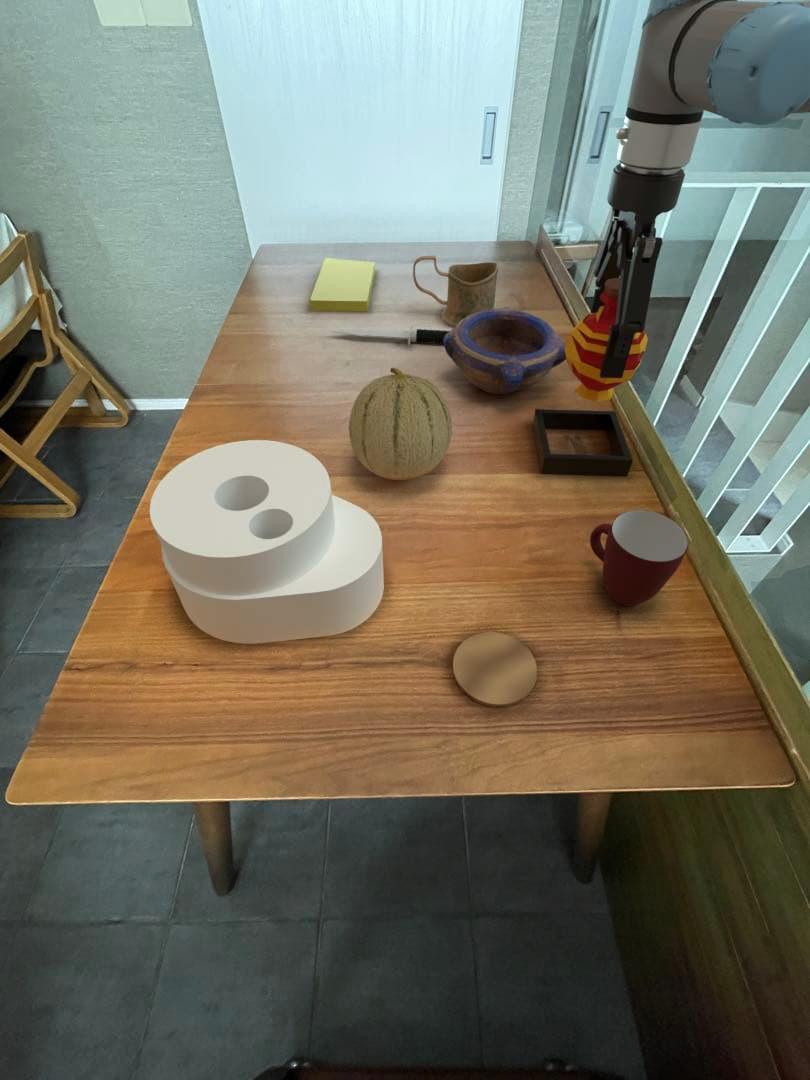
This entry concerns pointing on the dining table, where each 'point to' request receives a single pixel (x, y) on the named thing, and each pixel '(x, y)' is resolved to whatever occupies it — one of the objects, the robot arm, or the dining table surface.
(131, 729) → the dining table surface
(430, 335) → the knife
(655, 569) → the mug
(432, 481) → the dining table surface
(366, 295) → the yellow flat block
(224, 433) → the dining table surface
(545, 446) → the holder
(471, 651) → the coaster
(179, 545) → the white stepped block
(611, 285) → the potion bottle
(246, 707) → the dining table surface
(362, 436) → the cantaloupe
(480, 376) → the bowl
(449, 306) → the mug
